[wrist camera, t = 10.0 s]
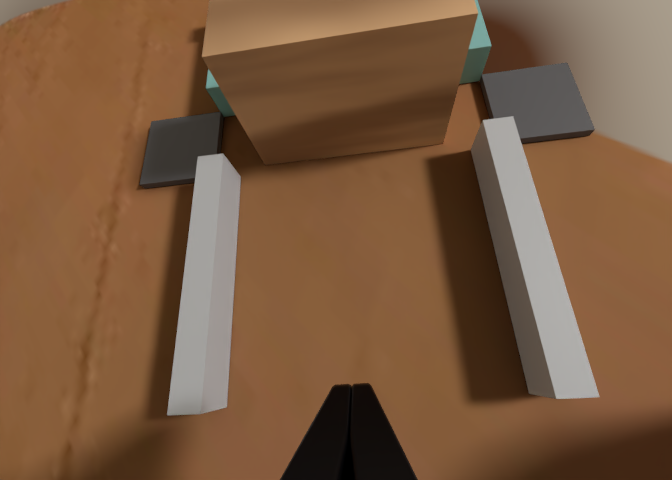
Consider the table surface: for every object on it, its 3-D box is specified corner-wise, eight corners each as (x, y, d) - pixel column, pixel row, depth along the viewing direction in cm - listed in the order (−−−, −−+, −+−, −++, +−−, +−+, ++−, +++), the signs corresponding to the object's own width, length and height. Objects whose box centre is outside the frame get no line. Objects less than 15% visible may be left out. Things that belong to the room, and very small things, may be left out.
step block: (442, 144, 20) (478, 13, 12) (265, 165, 21) (201, 56, 14) (417, 18, 24) (432, -139, 16) (269, 42, 25) (221, -95, 18)
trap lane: (691, 386, 14) (766, 391, 11) (104, 412, 17) (49, 421, 14) (523, -29, 24) (542, -81, 21) (173, 31, 27) (148, -8, 24)
